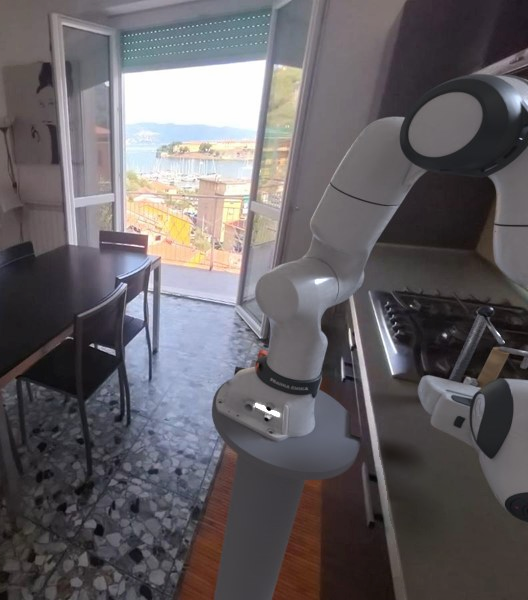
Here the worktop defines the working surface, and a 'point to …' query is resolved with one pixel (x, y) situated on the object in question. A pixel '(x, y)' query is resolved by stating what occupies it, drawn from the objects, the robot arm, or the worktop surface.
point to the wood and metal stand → (474, 341)
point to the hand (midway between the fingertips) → (481, 383)
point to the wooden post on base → (498, 364)
